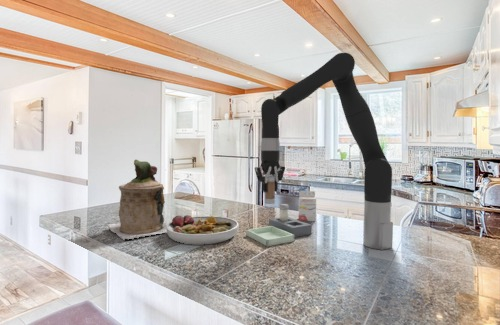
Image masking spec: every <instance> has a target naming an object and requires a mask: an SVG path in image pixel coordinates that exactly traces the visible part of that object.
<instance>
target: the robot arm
mask: <svg viewBox="0 0 500 325" xmlns="http://www.w3.org/2000/svg"><path fill="white" fill-rule="evenodd" d="M355 66H356V61H355V57H354V56H353V55H352V54H350V53H349V52H346V51H344V52H339V53H337V54H335V55H333V57H331V58H330V59H328V61H327V62H326V63H324V64H323V65H322V66H321V67H319V68H318V69H317V70H315V71H313V72H312V73H311V74H309V75H308V76H306V77H305V78H303V79H301V80H300V81H298V82H296V83H294V84H293V85H291V86H289V87H288V88H287V89H284V90H283V91H282V92H281V94H279V95H278V96H276V97H274V98H267V99H265V100H264V101H263V102H262V104H261V107H260V109H261V110H260V112H261V115H260V116H261V124H262V125H261V143H260V161H261V163H260V165H259V166H256V167H254V172H255V175H256V177H257V178H256V179H257V181H258V182H260V183H261V190H262V192H264V193H265V192H267V186H268V183H267V181H268V178H269V176H275V192H277V191H278V184H279V182H280V181H282V180H283V177H284V173H285V171H286V170H285V169H286V167H285V166H282V165H281V164H280V156H281V154H280V148H281V146H280V144H281V143H280V127H279V116H280V115H281V114H283V113H284V112H286V110H288V109H289V108H292V107H293V106H296V105H297V104H299V103H300V102H302V101H304V100H305V99H307V98H308V97H310V96H311V95H312V94H313V93H315V92H316V91H317V90H318V89H320V88H321V87H322V86H325V85H326V84H327V83H329V82H332V83H333V85H334V87H335V89H336V91H337V93H338V96H339V99H340V103H341V107H342V110H343V114H344V118H345V120H346V122H347V126H348V128H349V131H350V133H351V135H352V138H354V142H355V143H356V144H357V145H358V148H359V150H360V154H361V156H362V160H363V163H364V178H363V180H364V182H363V183H364V184H363V185H364V186H363V189H364V190H363V191H364V192H363V193H364V194H363V195H364V196H363V197H364V199H363V200H364V202H363V203H364V204H363V205H364V207H363V208H364V210H363V245H364V246H365V247H367V248H371V249H376V250H381V251H383V250H388V249H391V248H393V237H394V236H393V234H394V232H393V231H394V224H393V221H391V218H392V217H391V214H392V213H391V212H392V211H391V209H392V208H391V206H392V185H393V168H392V166H391V164H390V162H389V161H388V159H387V157H386V156H385V153H384V151H383V149H382V146H381V144H380V141H379V135H378V131H377V126H376V124H375V120H374V118H373V117H374V116H373V115H372V111H371V109H370V107H369V105H368V103H367V101H366V100H365V98H364V96H363V95H362V93H360V91H359V89H358V87H357V84H356V82H355V77H354V74H353V73H354V72H353V71H354V70H355Z"/></svg>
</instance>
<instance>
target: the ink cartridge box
mask: <svg viewBox="0 0 500 325" xmlns="http://www.w3.org/2000/svg"><path fill="white" fill-rule="evenodd" d="M298 193H299V194H298V196H299V197H298V220H299V221H302V222H317V197H315V196H316V191H314V190H313V191H311V190H300V191H299V192H298Z"/></svg>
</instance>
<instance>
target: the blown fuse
mask: <svg viewBox="0 0 500 325" xmlns="http://www.w3.org/2000/svg"><path fill="white" fill-rule="evenodd" d="M267 183H268V186H267V192H264V203H265V204H267V205H273V204H275V202H276V199H275V197H276V196H275V195H276V191H275V176H271V175H269V178H268V181H267Z"/></svg>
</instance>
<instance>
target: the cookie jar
mask: <svg viewBox="0 0 500 325" xmlns="http://www.w3.org/2000/svg"><path fill="white" fill-rule="evenodd" d="M133 166H134V172H135V175H136V176H135V177H134V178H132V179H131V180H130V181H129V182H127V183H125V184H121V185H119V186H118V189H119V191H120V199H119V210H118V216H119V217H118V218H119V222H118V223H109V224H107V228H108V230H109V229H110V231H111V232H112V233H114V234H115V233H116V234H115V235H116V236H118V237H119V238H120V239H121V240H122V239H123V240H124V241H125V240H129V239H132V240H135V239H134V238H137V239H139V237H140V238H146V237H145V236H149V237H152V236H151V235H155V236H157V235H156V234H160V235H163V234H162V233H165V234H167V233H166V232H167V228H166V227H167V225H168V224H169V223H170V222H168V221H165V218H164V215H163V212H164V205H165V203H166V201H165V196H164V189H165V188H164V184H162V183H160V182H159V181H157V180H156V178H155V175H157V173H158V172H157V171H158V167H157V166H154V165H151V164H150V162H148V161H140V160H138V159H134V161H133ZM159 230H163V231H166V232H157V231H159ZM123 240H122V241H123ZM129 241H130V240H129Z"/></svg>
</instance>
